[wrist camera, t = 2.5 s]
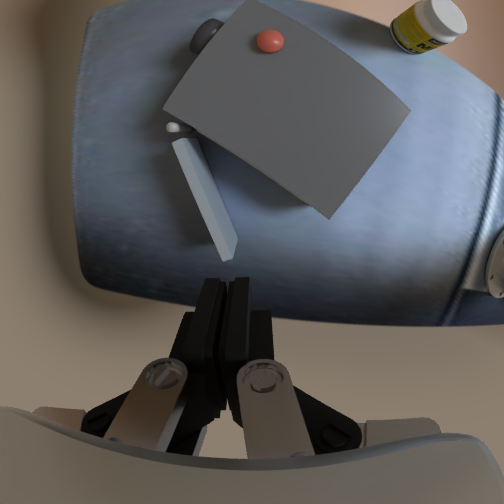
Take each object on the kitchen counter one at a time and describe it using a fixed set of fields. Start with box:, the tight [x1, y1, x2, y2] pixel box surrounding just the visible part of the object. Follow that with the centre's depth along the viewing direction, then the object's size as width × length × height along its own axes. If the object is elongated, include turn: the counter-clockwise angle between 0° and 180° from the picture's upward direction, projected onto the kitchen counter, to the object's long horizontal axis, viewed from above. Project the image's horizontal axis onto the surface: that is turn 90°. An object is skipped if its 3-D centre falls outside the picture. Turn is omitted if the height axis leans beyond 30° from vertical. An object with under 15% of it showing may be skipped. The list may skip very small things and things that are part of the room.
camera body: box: [162, 0, 411, 219], centre depth 20 cm, size 18×13×6 cm
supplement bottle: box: [390, 0, 467, 54], centre depth 14 cm, size 5×5×8 cm
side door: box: [172, 138, 238, 261], centre depth 24 cm, size 11×2×5 cm, turn 21°
